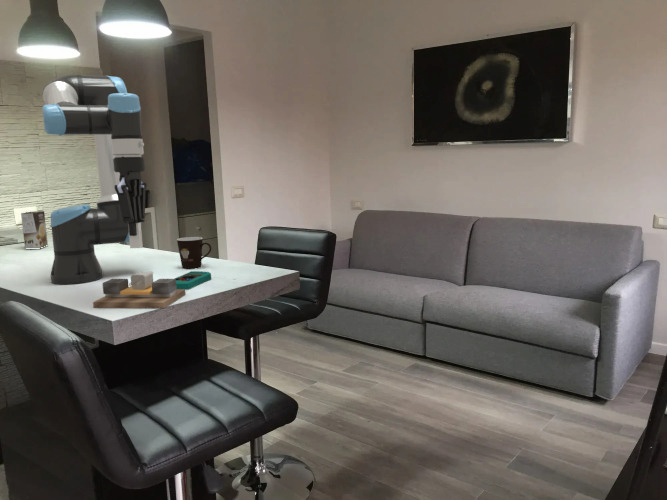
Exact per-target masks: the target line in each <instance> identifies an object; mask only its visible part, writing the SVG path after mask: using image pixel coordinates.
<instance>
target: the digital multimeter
mask: <svg viewBox="0 0 667 500" xmlns="http://www.w3.org/2000/svg"><path fill="white" fill-rule="evenodd" d="M173 279H176V288H177V289H185V291H187V290H191V289H192V288H195V287H196V286H198V285H201V284H204V283H205V282H208V281H211V279H212V273H211V272H209V271H201V270H196V271H195V270H193V271H189V272H186V273H184V274H182V275H180V276H176V277H174V278H173Z"/></svg>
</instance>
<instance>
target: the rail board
mask: <svg viewBox="0 0 667 500" xmlns="http://www.w3.org/2000/svg"><path fill="white" fill-rule="evenodd" d="M128 287H130V286H129V278H111V279H109V280H106V281H103V282H102V292H103V293H102V294H103V295H104V296H103V297H101V298H99V299H97V300H94V301H92V306H93V308H94V309H166V308H167V307H169V306H170V305H172V304H173V303H175V302H176V301H178V300H180V299H181V298H183V296H186V290H185V289H177V288H176V279H174V278H158V279H157V280H153V282H152V294H150V295H120V291H122V290H124V289H126V288H128Z"/></svg>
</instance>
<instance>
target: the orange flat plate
mask: <svg viewBox="0 0 667 500" xmlns="http://www.w3.org/2000/svg"><path fill="white" fill-rule="evenodd" d="M150 294H152V286H150V287H148V288H146V289H144V290H134V289H132V286H129V287H128V288H126V289H124V290H122V291H120V295H150Z"/></svg>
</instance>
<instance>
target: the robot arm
mask: <svg viewBox="0 0 667 500" xmlns="http://www.w3.org/2000/svg"><path fill="white" fill-rule="evenodd" d="M127 90H128V89H127V86H126V83H125V82H124V80H123V79H122V78H121V77H119V76H109V75H107V74H106V75H88V74H87V75H86V74H85V75H84V74H65V75H62V76H58V77H56V78H53V79H52V80H50V81H48V82H47V84H46V85H45V86H44V87H43V90H42V99H43V102H44V105H43V106H42V108H41V109H42V117H43V127H44V132H45V133H46V134H47V135H54V136H55V135H56V136H64V135H65V136H69V135H70V136H74V135H75V136H76V135H80V136H82V135H91V136H92V135H93V137H94V143H95V144H94V146H95V152H96V161H97V171H98V181H99V188H100V199H98V201H97V202H96V207H95V208H91V206H90V204H87V203H86V204H85V203H84V204H77V205H73V206H66V207H61V208H58V209H54V210H53V211H51V213H50V226H49V227H50V228H51V234H52V235H51V237H52V245H53V255H54V257H53V263H52V267H51V270H50V271H51V272H50V283H52V284H55V285H56V284H57V285H72V284H75V285H76V284H84V283H88V282H93V281H97V280H100V279H102V278H103V277H104V275H103V274H104V273H103V268H102V266H101V265H100V262H99V260H98V258H97V255H96V252H95V246H96V245H97V246H98V245H108V244H117V243H118V244H120V243H123V244H126V243H129V246H130V248H129V249H141V248H143V247H144V246H143V234H142V223H144V222H145V221H146V219H145V218H146V189H147V187H148V186H147V184H148V183H147V182H144V181H142V176H141V173H142V172H145V171H146V162H145V158H144V157H143V156H142V155H144V154H145V152H144V146H145V143H144V141H143V138H144V137H143V129H142V115H141V114H142V113H141V112H142V111H141V110H142V107H141V103H140V97H139V96H138V94H135V93H128V91H127Z"/></svg>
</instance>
